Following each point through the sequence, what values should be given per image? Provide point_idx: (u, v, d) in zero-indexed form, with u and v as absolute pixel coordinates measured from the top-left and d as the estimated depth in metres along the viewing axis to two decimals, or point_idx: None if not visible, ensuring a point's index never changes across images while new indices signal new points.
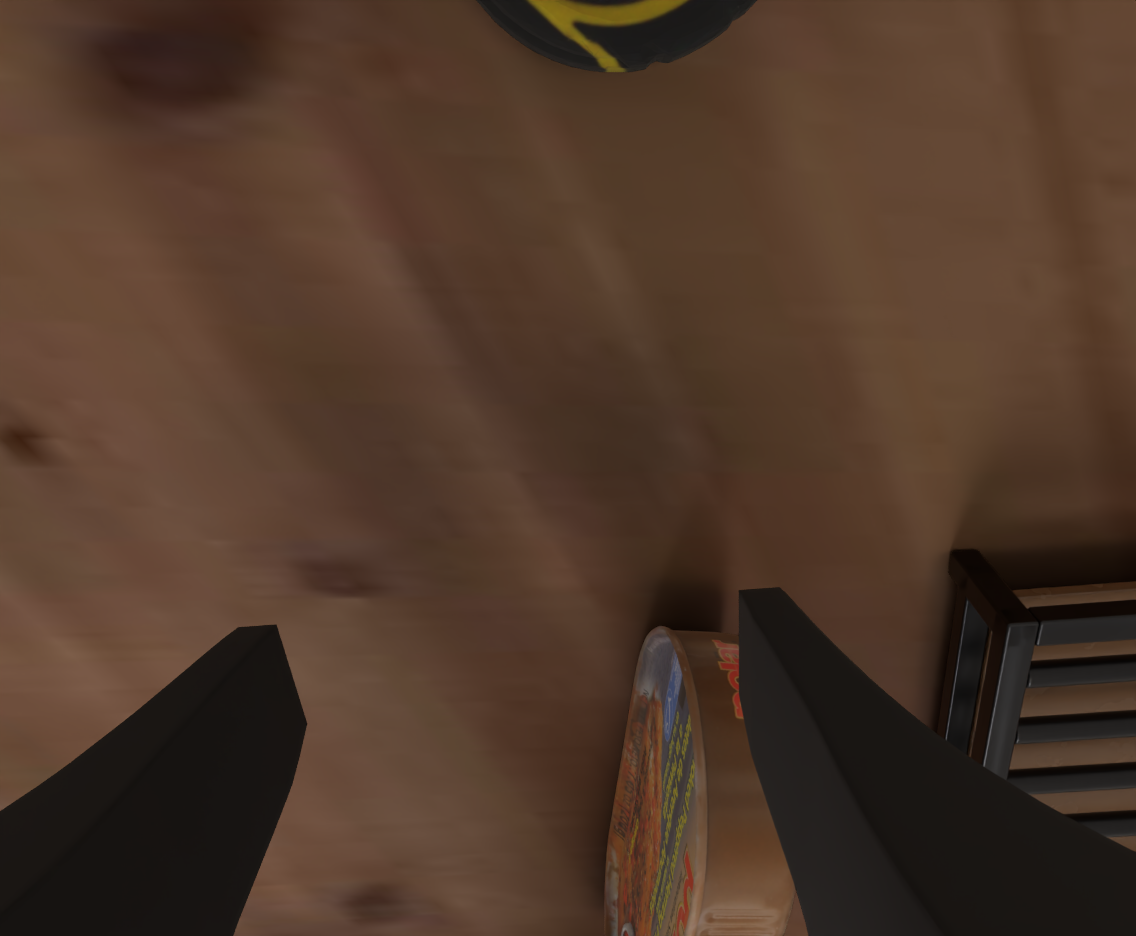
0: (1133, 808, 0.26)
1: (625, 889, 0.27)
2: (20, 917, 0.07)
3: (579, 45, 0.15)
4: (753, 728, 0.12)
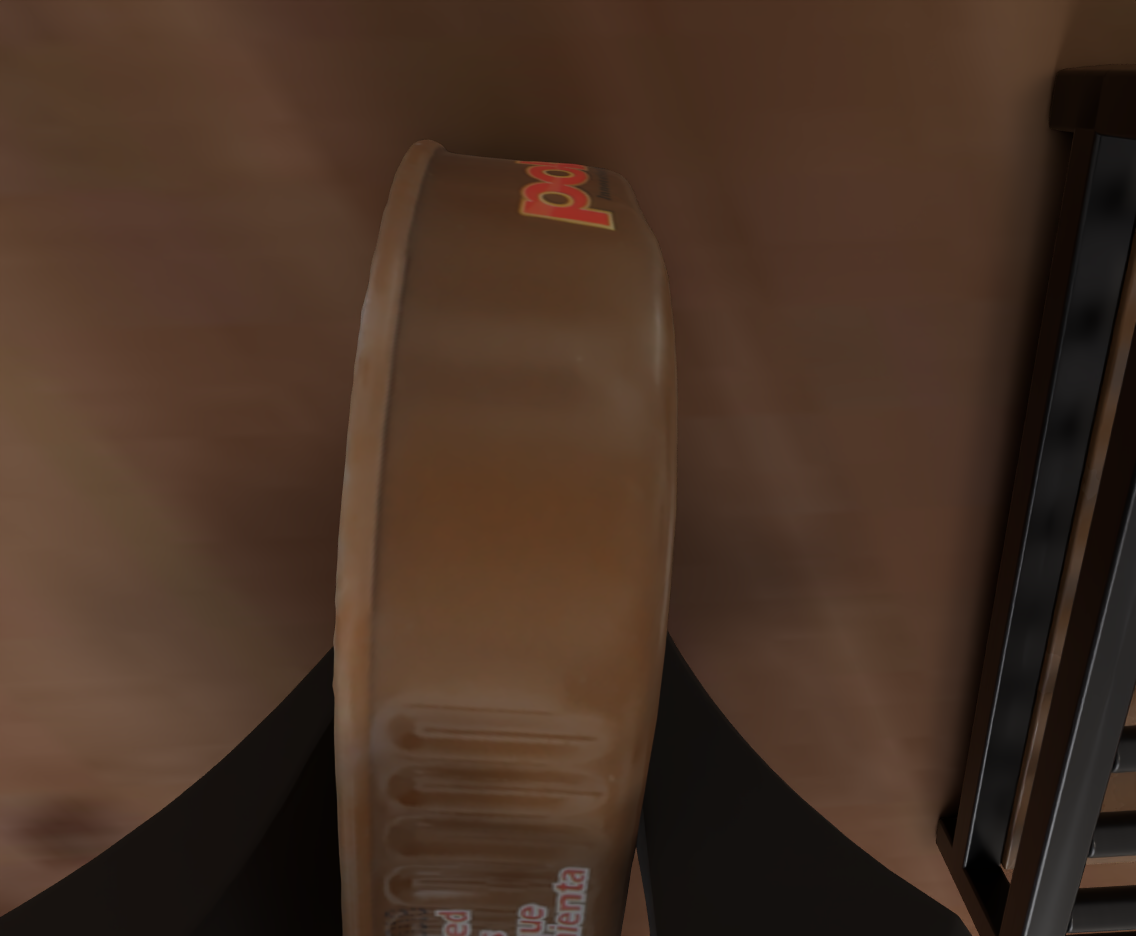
0: None
1: None
2: (232, 904, 0.07)
3: None
4: None
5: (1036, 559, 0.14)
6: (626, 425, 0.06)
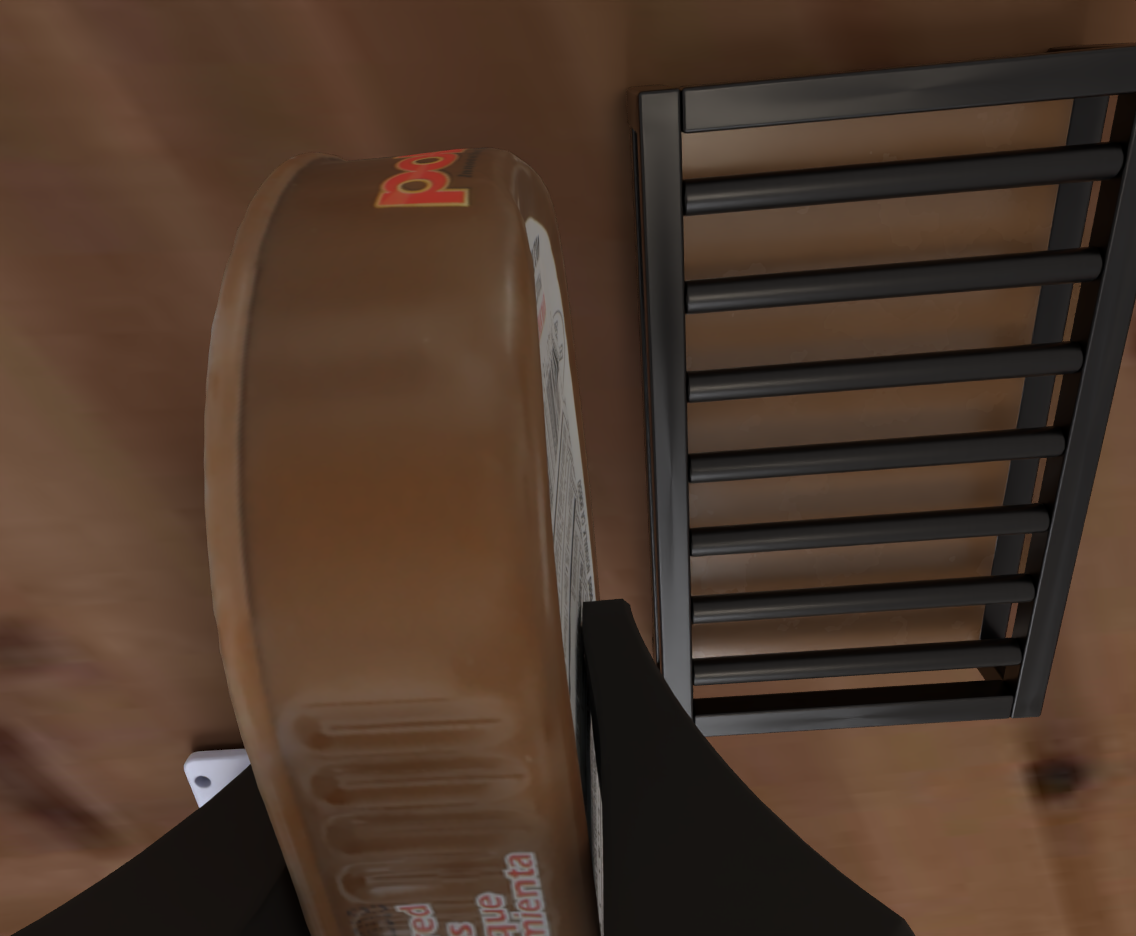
0: (897, 476, 0.21)
1: None
2: (278, 902, 0.07)
3: None
4: (594, 739, 0.12)
5: None
6: (478, 399, 0.06)
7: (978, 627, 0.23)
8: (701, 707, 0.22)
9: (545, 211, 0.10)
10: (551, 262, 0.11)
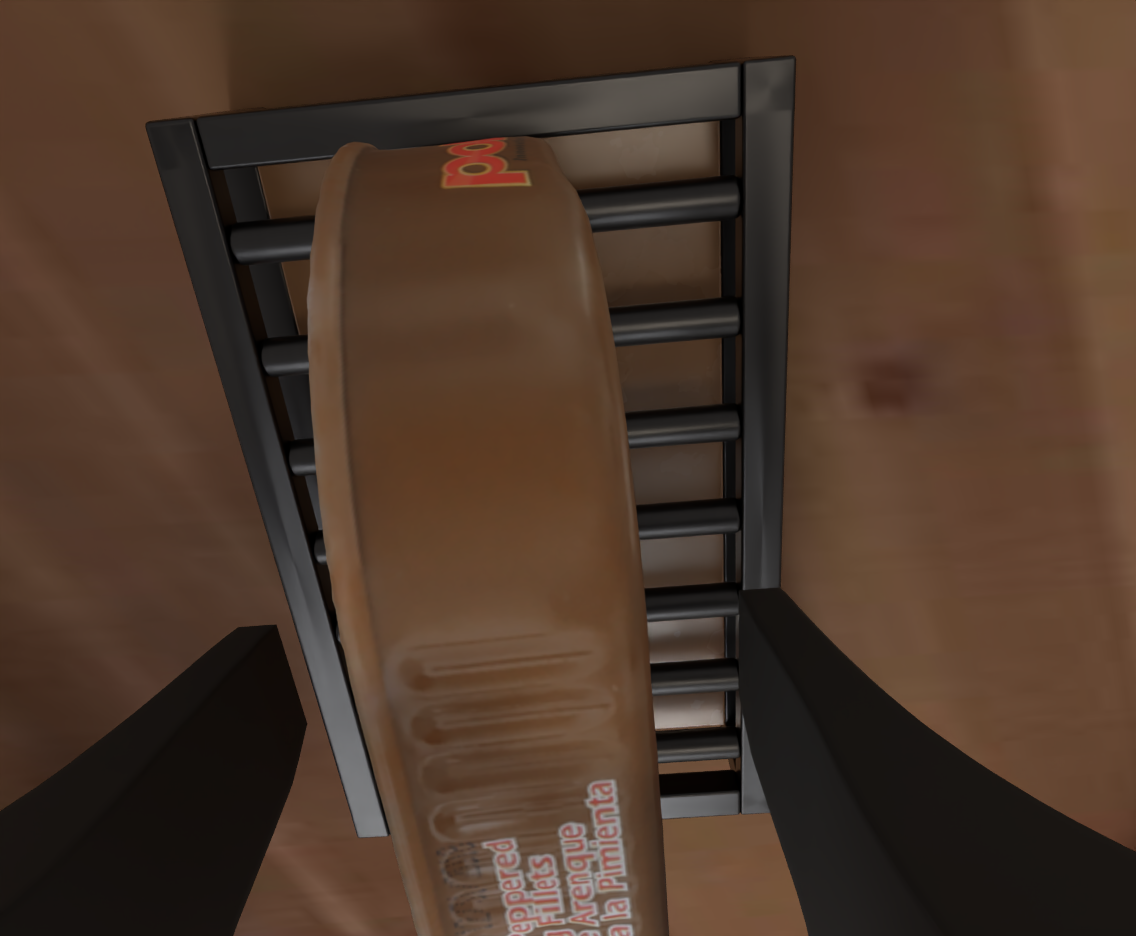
0: None
1: None
2: (21, 917, 0.07)
3: None
4: (753, 728, 0.12)
5: (313, 484, 0.18)
6: (564, 357, 0.07)
7: (720, 706, 0.20)
8: None
9: None
10: None
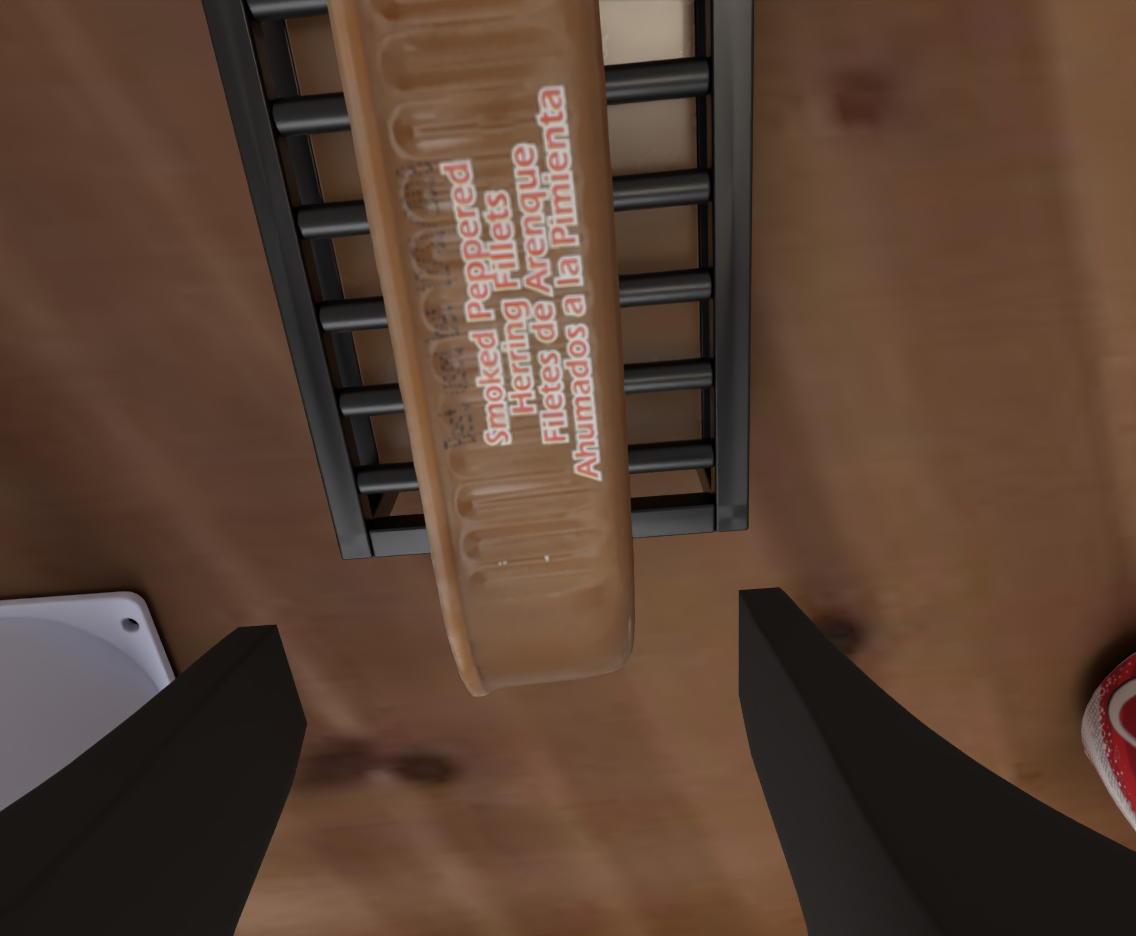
0: None
1: None
2: (21, 917, 0.07)
3: None
4: (753, 728, 0.12)
5: (298, 187, 0.18)
6: None
7: None
8: (379, 523, 0.20)
9: None
10: None
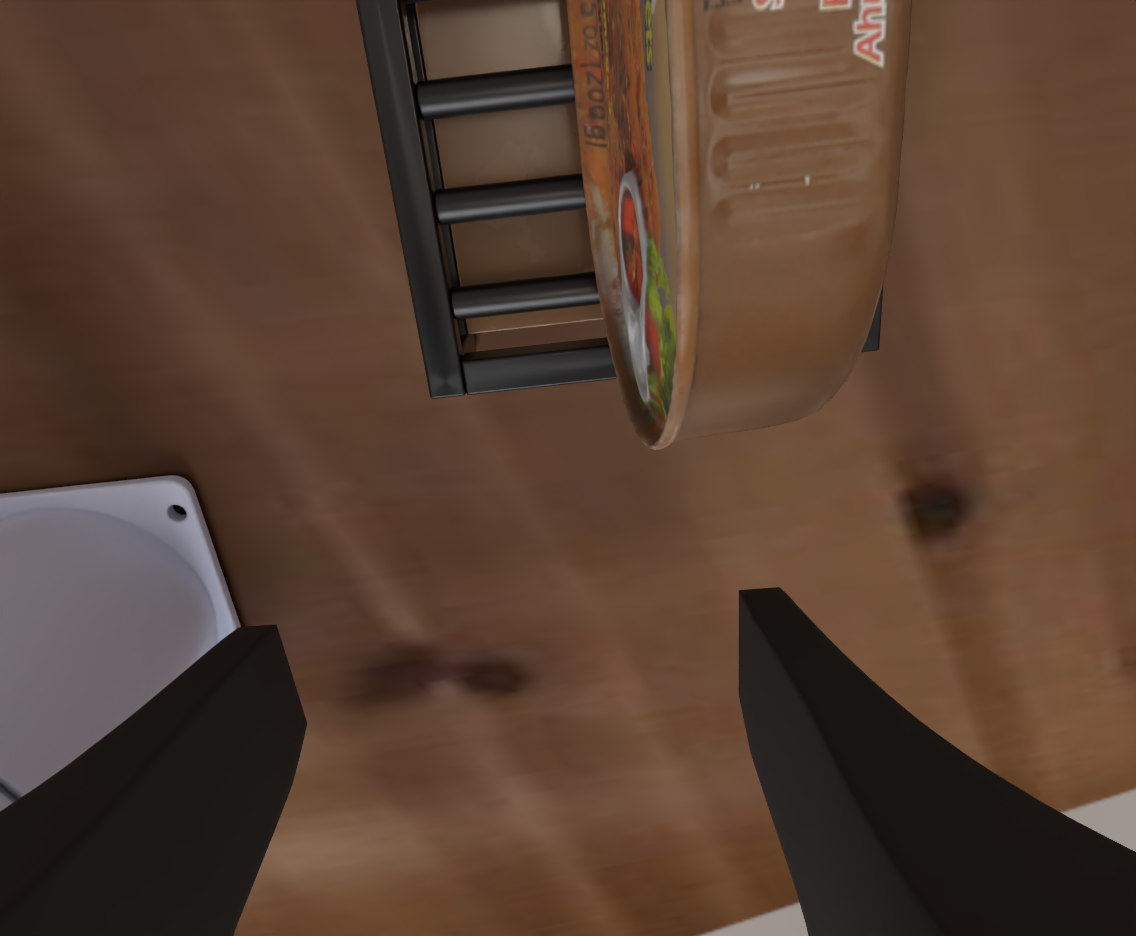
0: None
1: (616, 188, 0.14)
2: (20, 917, 0.07)
3: None
4: (754, 728, 0.12)
5: None
6: None
7: None
8: (472, 356, 0.18)
9: None
10: None
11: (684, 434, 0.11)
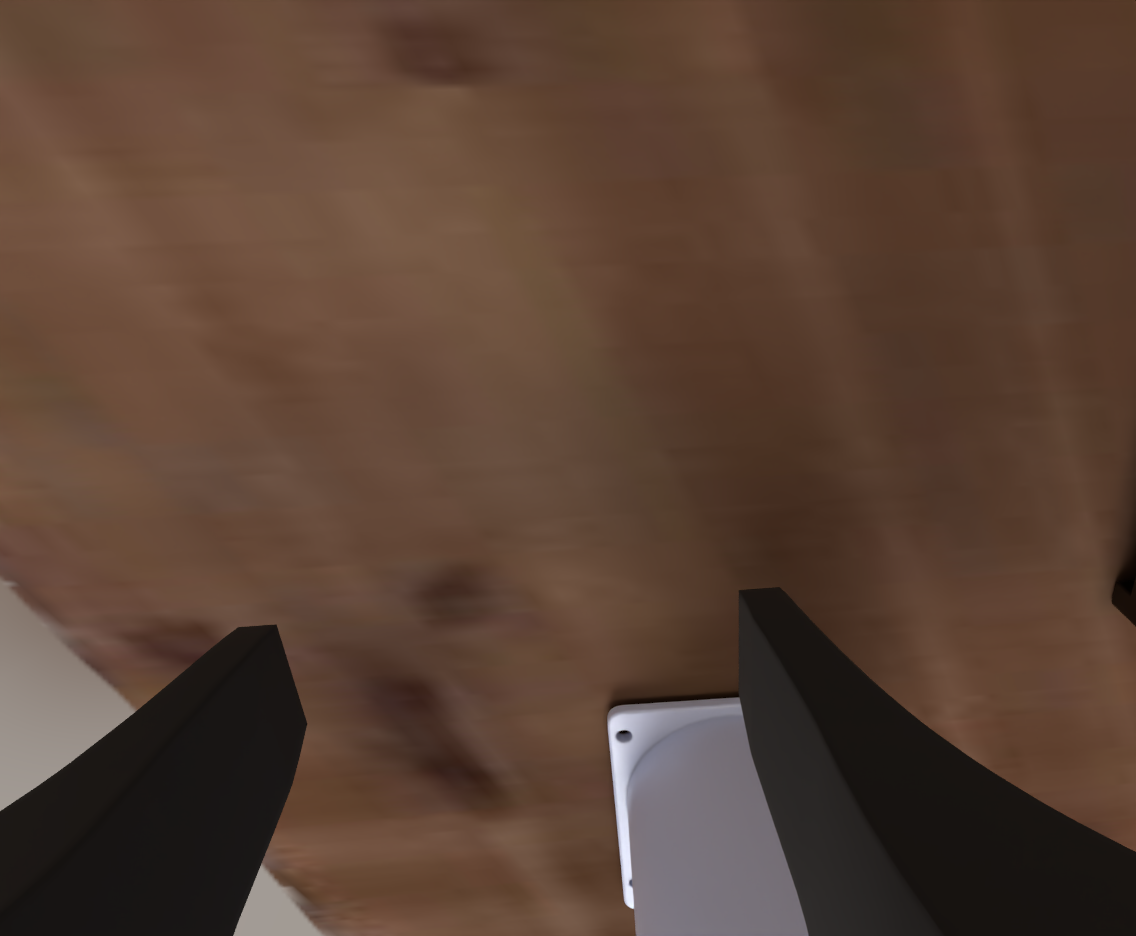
0: None
1: None
2: (20, 917, 0.07)
3: None
4: (753, 728, 0.12)
5: None
6: None
7: None
8: None
9: None
10: None
11: None
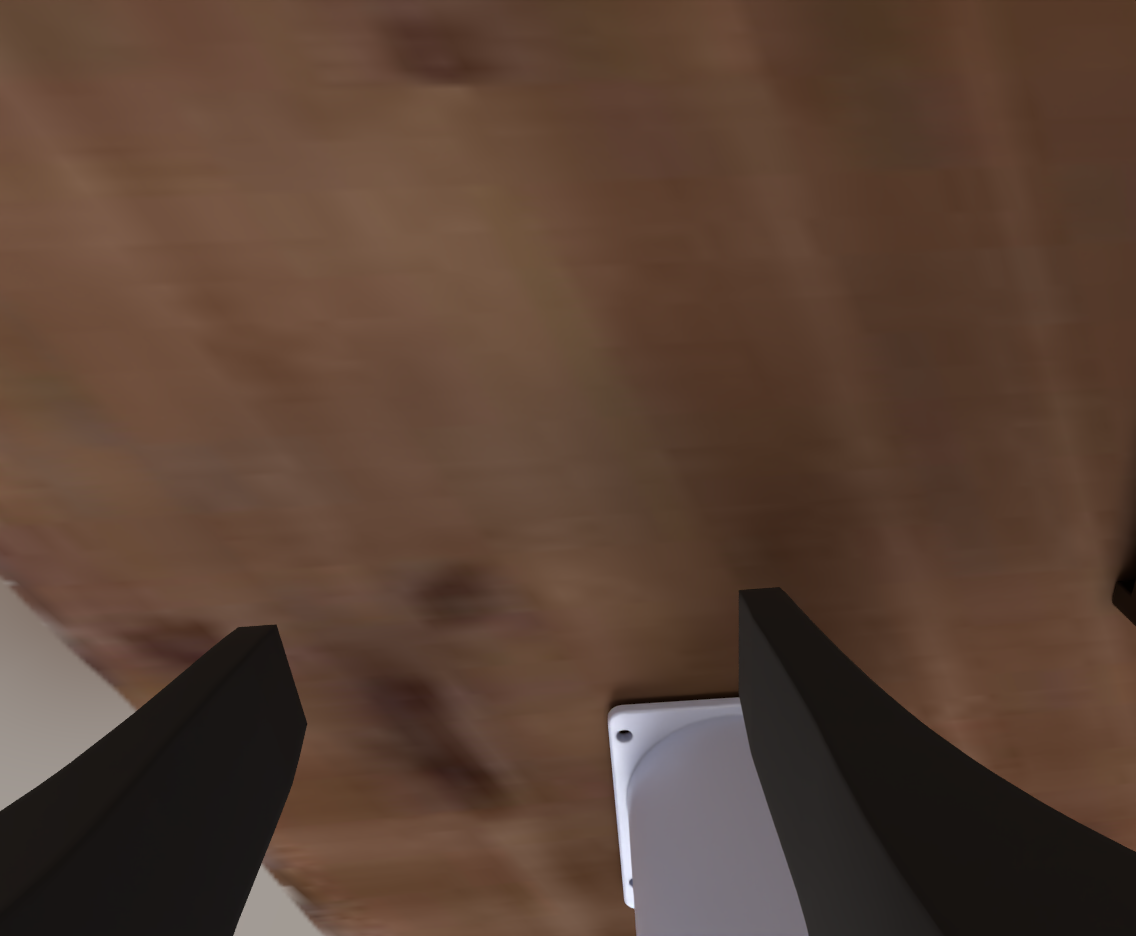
0: None
1: None
2: (20, 917, 0.07)
3: None
4: (753, 728, 0.12)
5: None
6: None
7: None
8: None
9: None
10: None
11: None
